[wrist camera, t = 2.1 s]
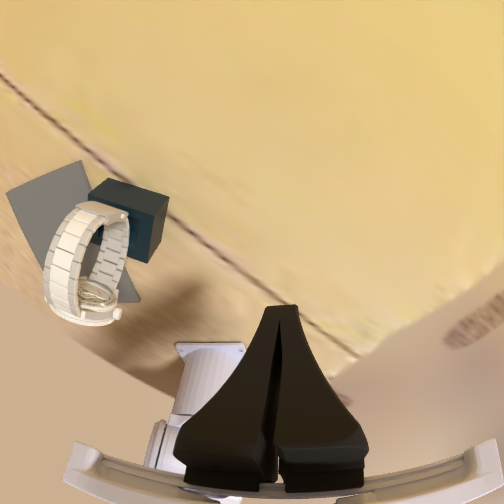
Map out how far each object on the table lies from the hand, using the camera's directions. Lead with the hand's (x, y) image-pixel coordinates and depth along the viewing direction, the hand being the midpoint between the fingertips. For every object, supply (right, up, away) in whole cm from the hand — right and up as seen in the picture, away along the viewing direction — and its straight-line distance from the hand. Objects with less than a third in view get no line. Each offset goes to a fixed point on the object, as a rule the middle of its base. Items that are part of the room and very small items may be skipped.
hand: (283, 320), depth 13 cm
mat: (-20, +4, +12) cm, 24 cm away
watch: (-11, +6, +10) cm, 16 cm away
